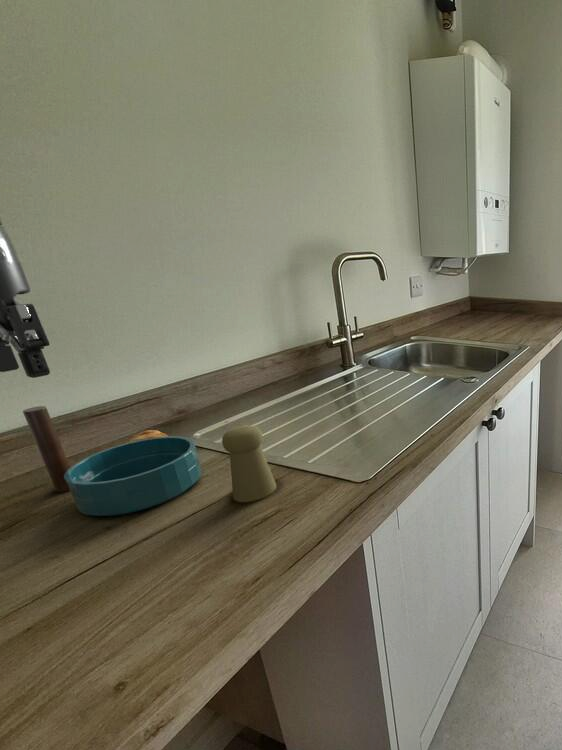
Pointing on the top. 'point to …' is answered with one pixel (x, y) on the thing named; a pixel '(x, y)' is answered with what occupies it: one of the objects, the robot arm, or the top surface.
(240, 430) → the cork
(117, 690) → the top surface
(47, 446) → the stirring stick
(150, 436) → the pastry
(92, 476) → the bowl
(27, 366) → the robot arm
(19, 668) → the top surface
